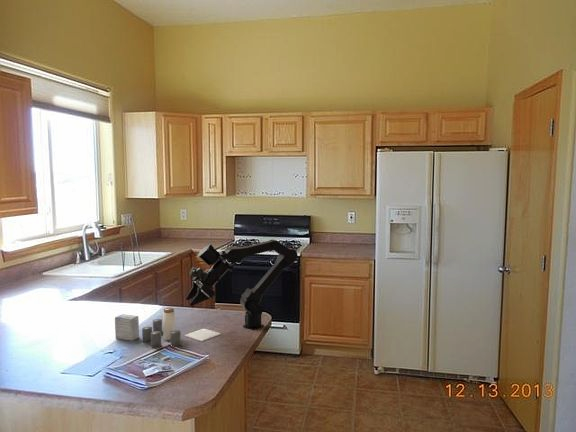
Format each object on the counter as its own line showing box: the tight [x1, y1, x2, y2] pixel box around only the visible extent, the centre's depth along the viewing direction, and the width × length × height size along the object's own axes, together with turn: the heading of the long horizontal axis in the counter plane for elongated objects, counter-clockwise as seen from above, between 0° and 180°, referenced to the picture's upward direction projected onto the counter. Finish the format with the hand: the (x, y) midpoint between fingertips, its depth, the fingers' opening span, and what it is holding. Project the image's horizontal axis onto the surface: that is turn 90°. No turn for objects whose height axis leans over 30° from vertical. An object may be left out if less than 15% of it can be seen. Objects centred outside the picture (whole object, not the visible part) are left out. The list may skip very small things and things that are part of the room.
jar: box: [162, 307, 176, 341], centre depth 163 cm, size 4×4×12 cm
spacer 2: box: [152, 318, 163, 334], centre depth 169 cm, size 4×4×5 cm
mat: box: [184, 328, 221, 342], centre depth 166 cm, size 10×10×1 cm
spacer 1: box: [141, 326, 153, 344], centre depth 160 cm, size 4×4×5 cm
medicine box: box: [114, 313, 140, 341], centre depth 163 cm, size 8×4×9 cm, turn 71°
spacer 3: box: [150, 331, 162, 349], centre depth 155 cm, size 4×4×5 cm
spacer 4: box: [170, 329, 182, 348], centre depth 156 cm, size 4×4×5 cm
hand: (188, 302), depth 165 cm, fingers open, 9 cm apart
